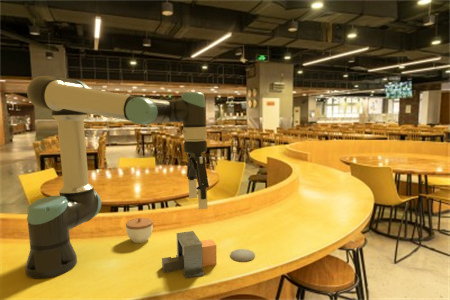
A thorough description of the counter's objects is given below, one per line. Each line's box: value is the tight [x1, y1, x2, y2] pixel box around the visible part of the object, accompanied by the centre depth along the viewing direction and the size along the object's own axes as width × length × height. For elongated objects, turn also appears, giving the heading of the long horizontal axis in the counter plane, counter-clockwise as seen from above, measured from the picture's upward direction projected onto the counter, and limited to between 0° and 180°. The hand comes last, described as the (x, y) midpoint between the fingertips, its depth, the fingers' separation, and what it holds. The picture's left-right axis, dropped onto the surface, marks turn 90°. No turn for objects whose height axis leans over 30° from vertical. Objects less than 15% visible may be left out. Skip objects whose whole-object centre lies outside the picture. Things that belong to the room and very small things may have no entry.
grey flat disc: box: [229, 248, 256, 263], centre depth 109 cm, size 9×9×1 cm
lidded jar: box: [125, 217, 154, 244], centre depth 123 cm, size 11×11×9 cm
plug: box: [161, 239, 217, 274], centre depth 102 cm, size 5×18×7 cm, turn 110°
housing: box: [175, 230, 205, 280], centre depth 101 cm, size 16×6×10 cm, turn 21°
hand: (197, 203), depth 100 cm, fingers open, 13 cm apart
